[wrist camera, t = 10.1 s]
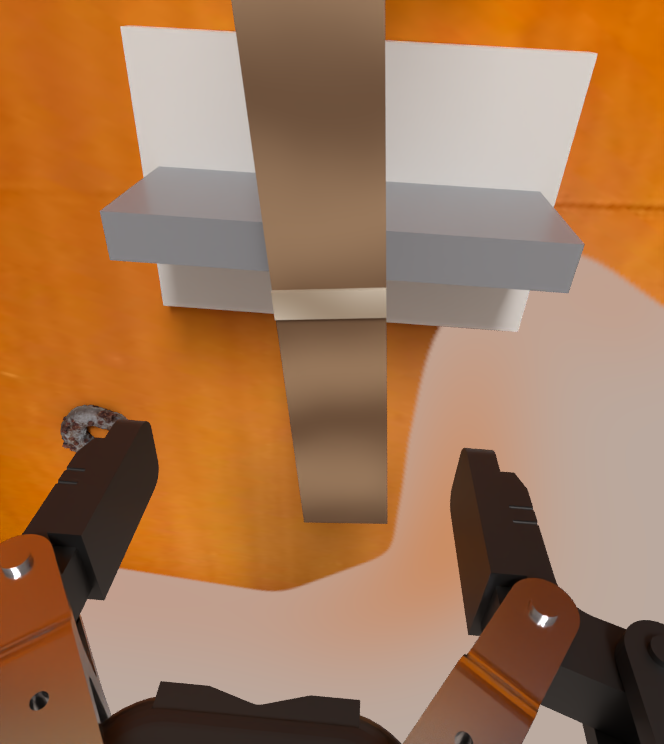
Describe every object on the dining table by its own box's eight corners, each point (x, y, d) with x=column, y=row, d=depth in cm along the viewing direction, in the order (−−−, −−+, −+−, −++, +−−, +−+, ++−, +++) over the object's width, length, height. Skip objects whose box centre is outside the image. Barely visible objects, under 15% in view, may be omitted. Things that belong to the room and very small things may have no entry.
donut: (168, 447, 47) (160, 464, 45) (100, 469, 49) (90, 486, 47) (106, 376, 42) (95, 392, 41) (35, 405, 45) (22, 421, 43)
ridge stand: (169, 297, 37) (116, 372, 30) (129, 25, 28) (38, 35, 21) (514, 323, 36) (549, 407, 29) (589, 51, 27) (670, 71, 20)
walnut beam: (249, -119, 18) (207, -156, 13) (382, -132, 17) (384, -174, 13) (313, 456, 32) (303, 525, 28) (386, 456, 32) (387, 526, 28)
